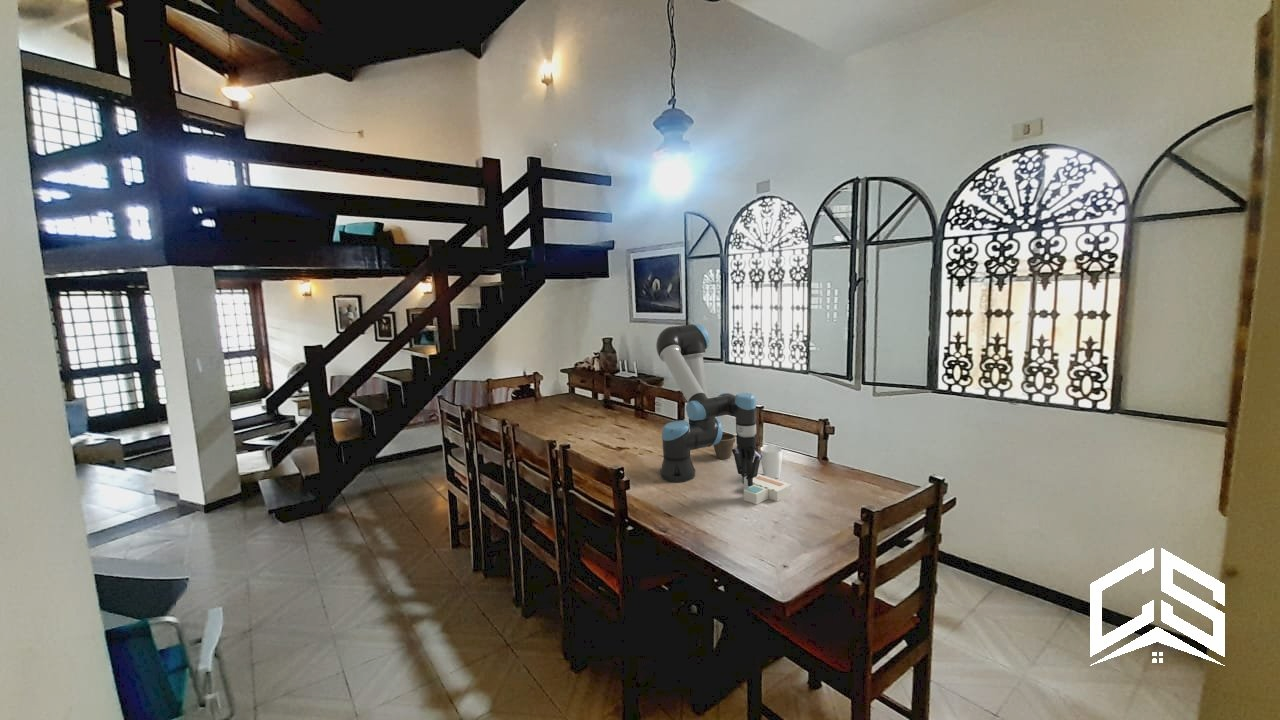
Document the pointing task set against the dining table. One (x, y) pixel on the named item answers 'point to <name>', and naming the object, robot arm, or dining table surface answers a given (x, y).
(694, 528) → the dining table surface
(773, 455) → the cup
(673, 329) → the robot arm
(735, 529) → the dining table surface
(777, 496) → the block
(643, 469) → the dining table surface
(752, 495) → the white teal-topped box
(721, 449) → the flower pot
